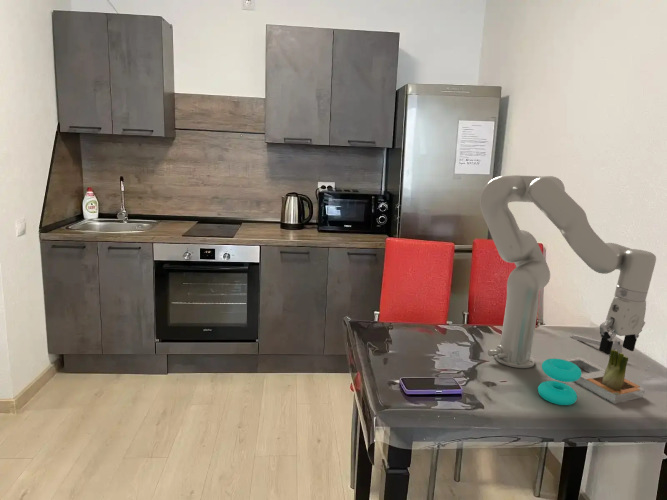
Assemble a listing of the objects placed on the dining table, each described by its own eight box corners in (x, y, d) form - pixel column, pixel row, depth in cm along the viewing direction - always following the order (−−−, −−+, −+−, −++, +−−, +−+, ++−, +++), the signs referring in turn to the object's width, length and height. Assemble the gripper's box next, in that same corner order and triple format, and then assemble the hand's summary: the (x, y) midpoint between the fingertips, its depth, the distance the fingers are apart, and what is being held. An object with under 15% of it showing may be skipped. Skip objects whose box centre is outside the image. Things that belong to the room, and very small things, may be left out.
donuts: (534, 357, 140) (564, 355, 143) (529, 390, 143) (558, 387, 146) (560, 374, 131) (591, 371, 134) (553, 408, 133) (584, 405, 136)
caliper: (620, 360, 169) (624, 342, 167) (618, 360, 168) (621, 343, 167) (571, 336, 187) (573, 321, 185) (568, 337, 186) (571, 321, 185)
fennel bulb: (623, 396, 142) (631, 357, 140) (604, 393, 143) (612, 354, 141) (616, 386, 148) (624, 349, 145) (598, 384, 149) (605, 346, 146)
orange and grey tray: (614, 403, 138) (615, 394, 138) (551, 368, 158) (552, 360, 157) (643, 397, 143) (645, 388, 143) (578, 364, 163) (580, 356, 162)
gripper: (621, 300, 132) (606, 359, 137) (664, 297, 139) (648, 353, 144) (597, 291, 139) (583, 347, 143) (638, 288, 146) (624, 342, 150)
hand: (616, 350), depth 143 cm, fingers open, 9 cm apart
